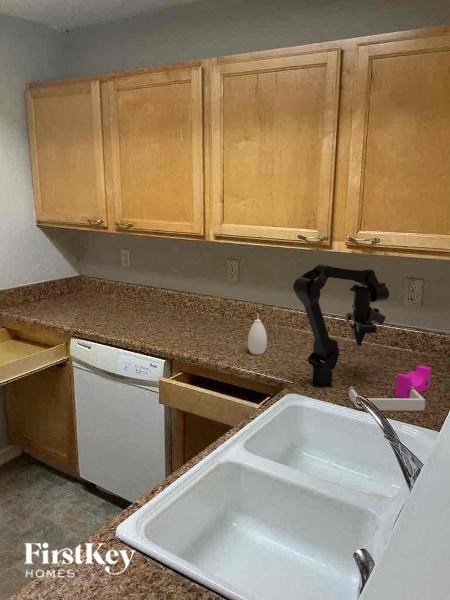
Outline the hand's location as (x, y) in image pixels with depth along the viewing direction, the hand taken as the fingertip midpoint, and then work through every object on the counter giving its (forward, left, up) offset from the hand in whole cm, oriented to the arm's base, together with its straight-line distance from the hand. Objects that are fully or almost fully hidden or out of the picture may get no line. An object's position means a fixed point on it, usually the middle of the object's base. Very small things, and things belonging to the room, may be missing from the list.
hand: (358, 345), depth 168 cm
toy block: (+15, -12, -12) cm, 23 cm away
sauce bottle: (-35, +23, -12) cm, 44 cm away
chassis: (+3, -23, -12) cm, 26 cm away
